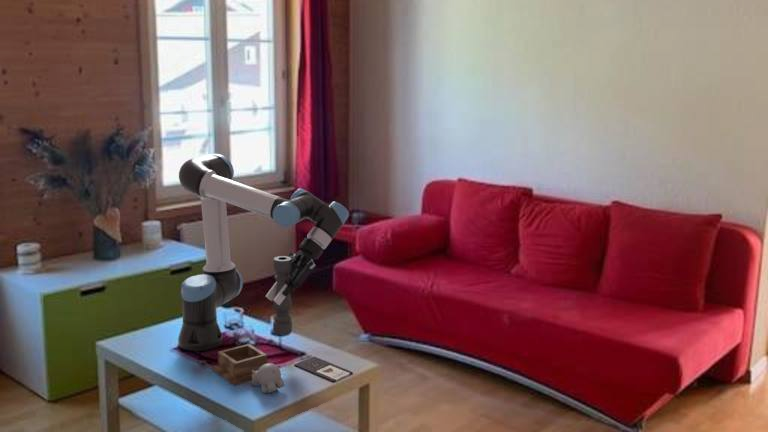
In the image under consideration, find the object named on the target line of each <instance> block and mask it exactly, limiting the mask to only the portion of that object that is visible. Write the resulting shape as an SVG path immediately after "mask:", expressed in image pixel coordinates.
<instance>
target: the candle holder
mask: <svg viewBox="0 0 768 432" xmlns="http://www.w3.org/2000/svg"><path fill="white" fill-rule="evenodd" d="M288 256H289V255H288ZM288 256H287V255H279V256H275V257H274V258H273V269H274V272H275V275H274V280H275V282H276V281H277V290H276V294H275V297H276V296H277V294H278V293H279V292H280V290H281V289H282V288H283V286H284V285H285V284H286V282H289V280H290V279H291V277H292V275H289V272H290V270H291V257H288ZM276 274H277V275H276ZM286 285H287V284H286ZM275 297H274V298H275ZM292 305H293V301H292V298H291V292H290V293H289V294H288V296H286V297H285V299H284V300H283V301H282V303H281V304H280V305H278V304H277V303H276V302H274V301H273V304H272V307H273V308H274V310H275V313H276V314H275V315H274V317H273V322H272V325H273V326H272V331H273V333H274V334H275V335H280V336H284V335H285V336H286V335H289V334H292V333H293V320H292V315H291V314H290V311H291V309H292Z"/></svg>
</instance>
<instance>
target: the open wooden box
mask: <svg viewBox="0 0 768 432" xmlns="http://www.w3.org/2000/svg"><path fill="white" fill-rule="evenodd" d="M217 363H218V364H215V365H212V370H213V372H215V373H216V374H217V375H219V376H220V377H222V378H223V379H224V380H226V381H227V382H229V384H231V385H232V386H237V385H242V384H244V383H247V382H252V375H253V373H252V370H254V371H257V370H259V368H260V367H261V366H262V365H264V364H267V363H268V354H267V353H265V352H263V351H262V350H260V349H258V347H256V346H254V345H252V344H250V343H246V344H243V345H239V346H235V347H231V348H228V349H224V350H220V351H217Z"/></svg>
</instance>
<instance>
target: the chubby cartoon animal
mask: <svg viewBox="0 0 768 432" xmlns="http://www.w3.org/2000/svg"><path fill="white" fill-rule="evenodd" d="M252 373H253V375H252V380H251V384H252V385H253V386H256V387H257V386H260V385H261V393H262V394H268V393H273V392H276V391H277V389H281V388H284V387H285V385H286V384H285V381H284V380H283V378H282V372H281V369H280V367H279V366H277V364H274V363H271V362H267V364H264V365H262V366H261V367H260V368H259V370H257V371H254V370H252Z"/></svg>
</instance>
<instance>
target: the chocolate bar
mask: <svg viewBox="0 0 768 432" xmlns="http://www.w3.org/2000/svg"><path fill="white" fill-rule="evenodd" d="M293 366H294V367H296V368H298V369H301V370H303V371H305V372H308V373H310V374H312V375H315V376H317V377H320V378H322V379H325V380H326V381H328V382H331V383H335V382H337V381H340V380H342V379H344V378H346V377H349V376H351V375H353V371H351V370H348V369H346V368H344V367H341V366H340V365H336V364H333V363H331V362H329V361H327V360H324V359H321V358H319V357H317V356H312V357H308V358H306V359H305V360H301V361H299V362H297V363H295V364H294V365H293Z"/></svg>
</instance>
